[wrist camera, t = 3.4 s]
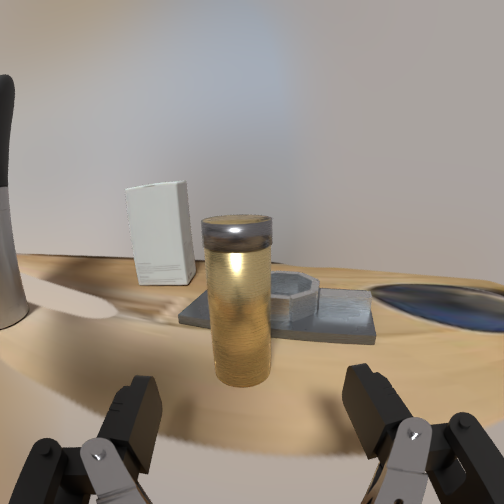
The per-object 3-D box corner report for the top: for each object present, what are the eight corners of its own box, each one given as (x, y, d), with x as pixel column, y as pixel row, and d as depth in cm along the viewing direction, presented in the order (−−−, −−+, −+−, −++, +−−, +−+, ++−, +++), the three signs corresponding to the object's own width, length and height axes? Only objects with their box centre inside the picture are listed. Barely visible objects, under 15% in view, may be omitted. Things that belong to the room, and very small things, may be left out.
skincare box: (196, 273, 45) (190, 180, 41) (187, 287, 39) (179, 180, 35) (149, 273, 45) (140, 184, 41) (135, 286, 39) (123, 186, 35)
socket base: (179, 323, 29) (174, 293, 28) (218, 286, 39) (216, 262, 38) (374, 344, 23) (380, 311, 22) (365, 297, 33) (368, 271, 32)
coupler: (205, 381, 20) (188, 224, 17) (226, 350, 24) (217, 214, 21) (263, 392, 18) (262, 225, 15) (276, 357, 23) (278, 215, 20)
